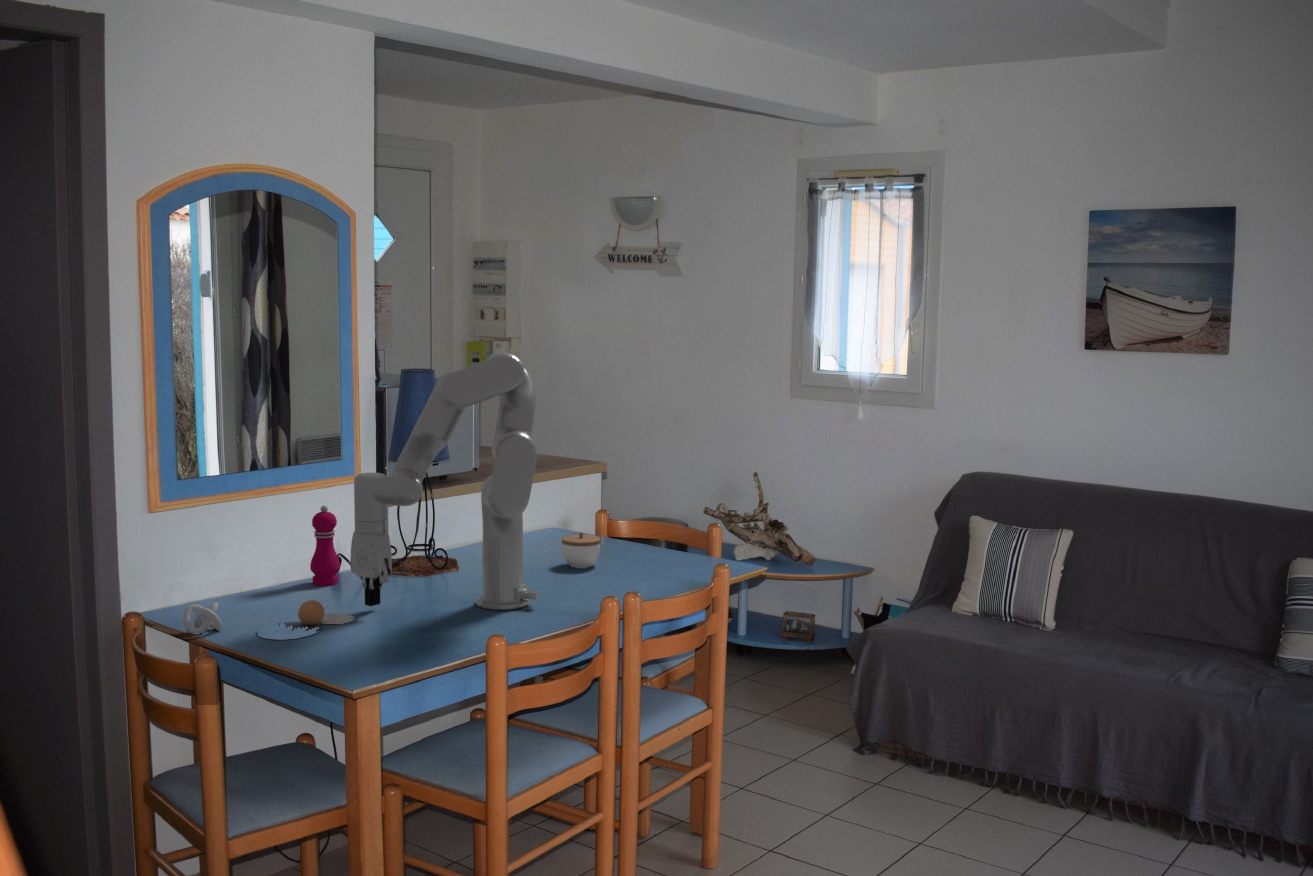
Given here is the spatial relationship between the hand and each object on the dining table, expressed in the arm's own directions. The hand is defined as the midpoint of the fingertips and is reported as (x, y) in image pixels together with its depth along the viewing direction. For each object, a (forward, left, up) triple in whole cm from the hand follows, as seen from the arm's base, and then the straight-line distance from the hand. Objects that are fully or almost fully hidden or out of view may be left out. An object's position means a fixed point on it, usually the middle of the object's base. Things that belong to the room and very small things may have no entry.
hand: (372, 604), depth 252 cm
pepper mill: (+24, -20, -2) cm, 31 cm away
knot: (+27, +24, -2) cm, 36 cm away
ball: (+7, +14, +1) cm, 16 cm away
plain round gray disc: (+4, +9, -2) cm, 10 cm away
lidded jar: (-32, -58, -2) cm, 66 cm away
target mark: (+9, +20, -2) cm, 22 cm away
